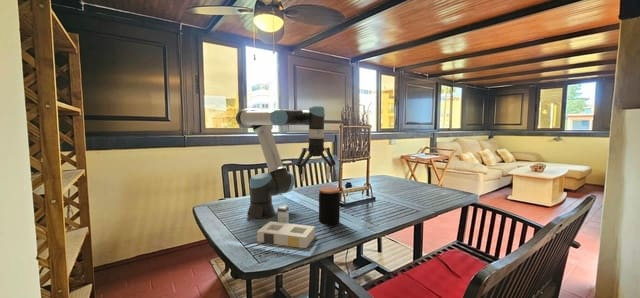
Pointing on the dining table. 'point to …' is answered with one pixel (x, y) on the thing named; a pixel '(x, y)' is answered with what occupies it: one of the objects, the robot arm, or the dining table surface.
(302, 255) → the dining table surface
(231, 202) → the dining table surface
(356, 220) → the dining table surface
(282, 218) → the plug
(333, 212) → the coffee jar
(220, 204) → the dining table surface
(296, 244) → the port box
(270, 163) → the robot arm
